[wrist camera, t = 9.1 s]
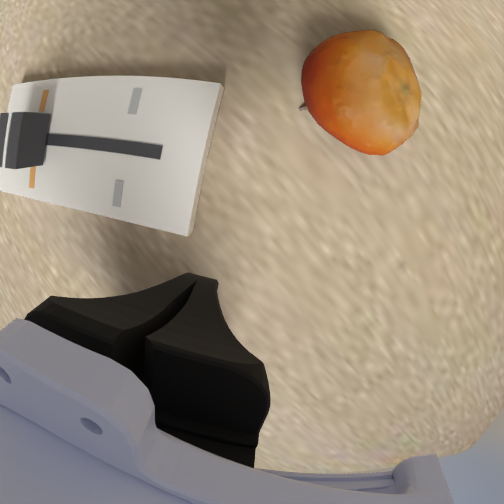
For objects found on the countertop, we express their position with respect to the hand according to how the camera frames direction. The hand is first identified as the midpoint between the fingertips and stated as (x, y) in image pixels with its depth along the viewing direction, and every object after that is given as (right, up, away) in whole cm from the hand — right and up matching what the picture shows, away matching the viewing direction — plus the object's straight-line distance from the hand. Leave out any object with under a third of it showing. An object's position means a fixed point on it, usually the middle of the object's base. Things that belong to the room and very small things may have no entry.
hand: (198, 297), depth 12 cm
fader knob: (-17, +12, +6) cm, 21 cm away
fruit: (+9, +13, +6) cm, 17 cm away
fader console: (-12, +11, +8) cm, 18 cm away
